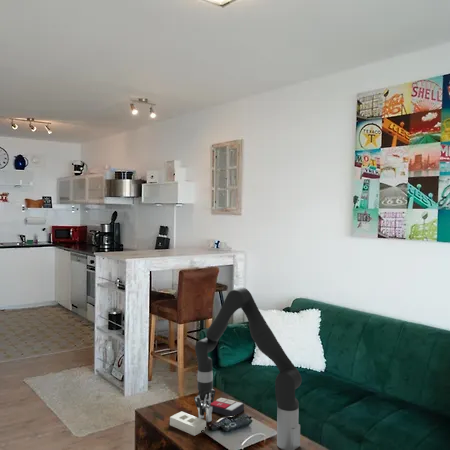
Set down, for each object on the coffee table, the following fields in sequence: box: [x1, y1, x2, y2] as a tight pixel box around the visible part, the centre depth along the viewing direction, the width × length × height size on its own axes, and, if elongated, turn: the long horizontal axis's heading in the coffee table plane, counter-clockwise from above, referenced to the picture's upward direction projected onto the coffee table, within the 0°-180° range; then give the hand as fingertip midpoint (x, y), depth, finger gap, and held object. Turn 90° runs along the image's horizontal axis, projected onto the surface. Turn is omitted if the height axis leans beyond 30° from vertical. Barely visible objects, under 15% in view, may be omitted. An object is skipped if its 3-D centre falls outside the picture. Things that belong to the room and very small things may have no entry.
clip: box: [197, 403, 213, 423], centre depth 224 cm, size 7×3×7 cm, turn 51°
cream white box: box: [169, 411, 207, 436], centre depth 217 cm, size 16×8×4 cm, turn 51°
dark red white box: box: [210, 397, 245, 417], centre depth 235 cm, size 11×4×15 cm
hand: (204, 413), depth 225 cm, fingers open, 3 cm apart
